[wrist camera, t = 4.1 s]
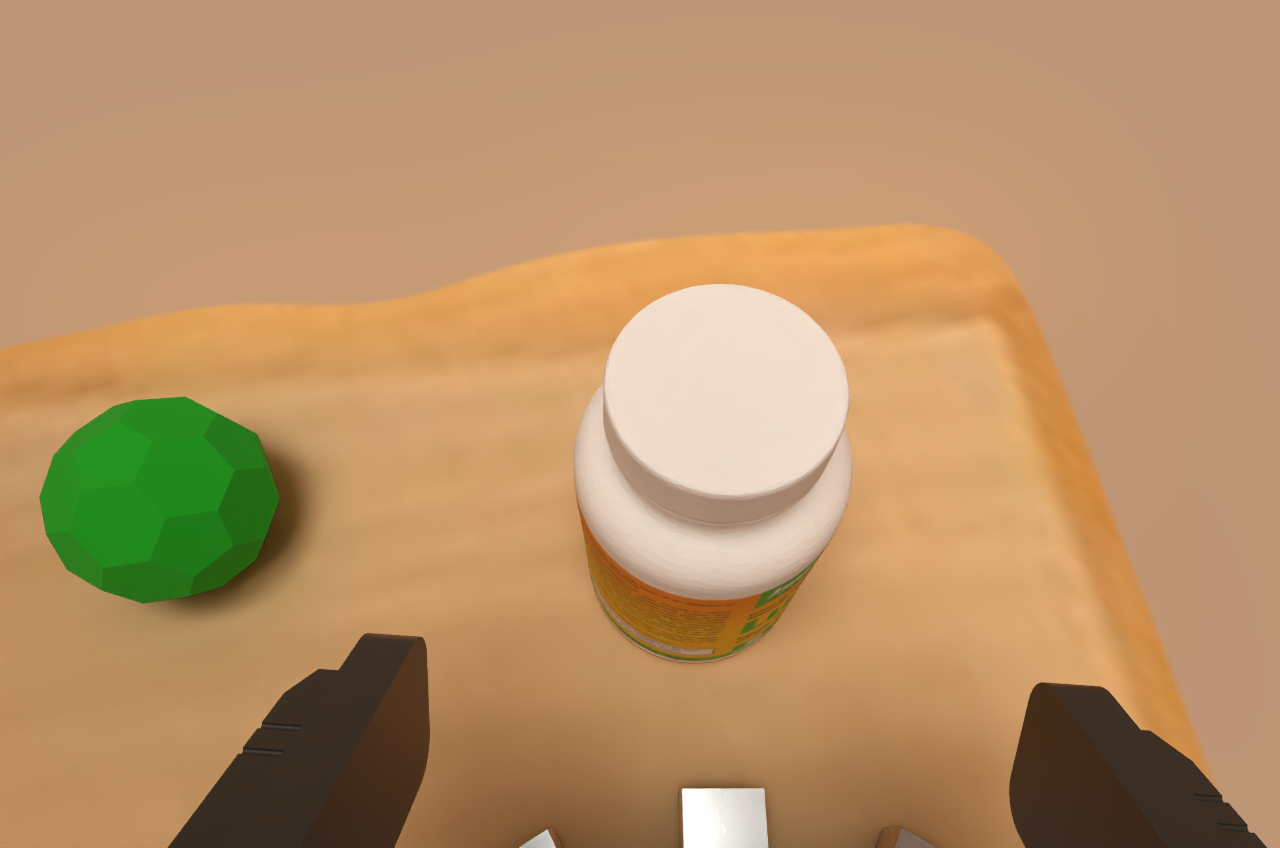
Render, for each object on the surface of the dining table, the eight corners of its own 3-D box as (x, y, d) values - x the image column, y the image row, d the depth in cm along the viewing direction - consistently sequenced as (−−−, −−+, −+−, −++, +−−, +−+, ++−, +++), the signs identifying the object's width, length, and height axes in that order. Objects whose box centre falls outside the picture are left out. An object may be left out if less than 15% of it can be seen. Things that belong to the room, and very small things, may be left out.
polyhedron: (78, 567, 21) (-60, 501, 17) (203, 422, 23) (107, 330, 19) (225, 655, 20) (117, 607, 16) (343, 494, 22) (274, 415, 18)
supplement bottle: (749, 703, 20) (837, 602, 11) (555, 613, 21) (497, 458, 12) (818, 516, 22) (936, 311, 13) (640, 443, 23) (642, 210, 14)
